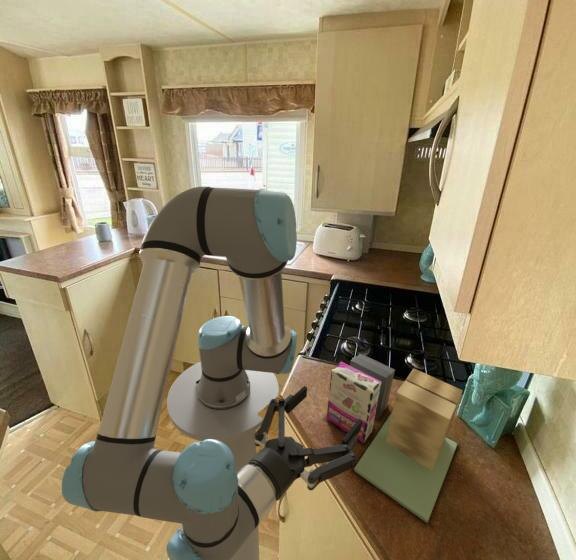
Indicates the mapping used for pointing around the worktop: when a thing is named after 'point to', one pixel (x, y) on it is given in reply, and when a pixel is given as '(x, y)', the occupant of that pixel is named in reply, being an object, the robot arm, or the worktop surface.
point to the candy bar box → (352, 399)
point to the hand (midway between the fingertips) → (331, 406)
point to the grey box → (379, 373)
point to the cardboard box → (422, 417)
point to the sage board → (405, 473)
